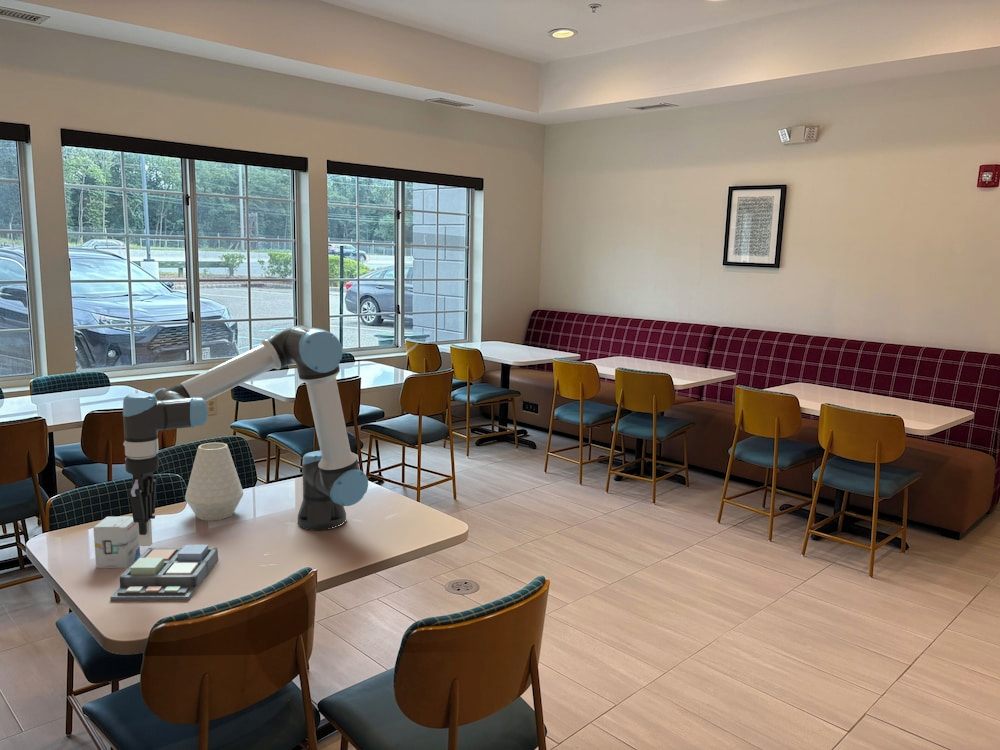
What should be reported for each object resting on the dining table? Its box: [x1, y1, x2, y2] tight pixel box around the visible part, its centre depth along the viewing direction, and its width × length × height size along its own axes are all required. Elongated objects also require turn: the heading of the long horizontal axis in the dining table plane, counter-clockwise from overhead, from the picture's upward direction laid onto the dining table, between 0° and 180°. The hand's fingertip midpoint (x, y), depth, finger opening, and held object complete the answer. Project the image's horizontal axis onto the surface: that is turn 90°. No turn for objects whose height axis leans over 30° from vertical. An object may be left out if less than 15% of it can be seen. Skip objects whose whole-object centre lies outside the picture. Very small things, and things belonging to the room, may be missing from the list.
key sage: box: [129, 557, 164, 575], centre depth 186 cm, size 6×6×2 cm
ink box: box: [93, 515, 141, 569], centre depth 197 cm, size 9×8×12 cm
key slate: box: [178, 544, 209, 561], centre depth 195 cm, size 6×6×2 cm
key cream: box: [166, 563, 198, 575], centre depth 187 cm, size 6×6×2 cm
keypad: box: [109, 547, 219, 602], centre depth 189 cm, size 18×24×4 cm
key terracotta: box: [145, 550, 176, 561], centre depth 195 cm, size 6×6×2 cm
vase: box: [184, 442, 244, 522], centre depth 233 cm, size 18×17×23 cm
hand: (145, 544), depth 185 cm, fingers closed
